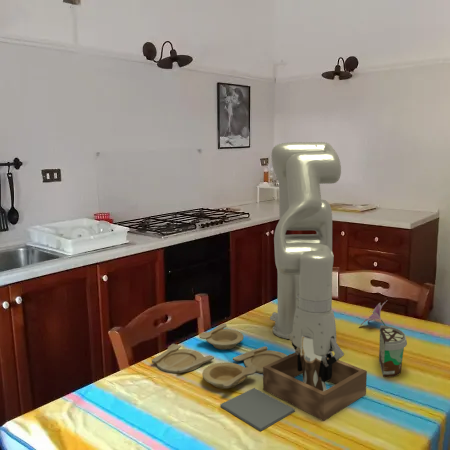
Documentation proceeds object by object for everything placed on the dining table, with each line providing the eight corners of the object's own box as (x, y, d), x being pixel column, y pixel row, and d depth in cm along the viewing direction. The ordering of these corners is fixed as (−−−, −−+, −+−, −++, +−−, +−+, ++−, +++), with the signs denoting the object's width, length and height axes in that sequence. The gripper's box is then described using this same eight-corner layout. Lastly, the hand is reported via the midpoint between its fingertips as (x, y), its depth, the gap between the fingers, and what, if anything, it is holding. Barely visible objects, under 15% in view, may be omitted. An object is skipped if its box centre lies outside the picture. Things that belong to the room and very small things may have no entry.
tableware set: (142, 363, 134) (142, 349, 133) (215, 332, 155) (215, 320, 155) (236, 408, 111) (235, 392, 110) (306, 364, 132) (306, 350, 131)
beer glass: (296, 385, 119) (296, 328, 117) (323, 384, 120) (324, 327, 118) (303, 400, 113) (303, 340, 110) (332, 398, 113) (333, 338, 111)
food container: (409, 381, 120) (411, 344, 119) (383, 379, 122) (385, 342, 120) (401, 360, 132) (403, 325, 131) (378, 358, 134) (379, 324, 132)
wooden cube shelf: (263, 389, 118) (263, 366, 117) (305, 368, 128) (306, 347, 127) (323, 421, 104) (324, 395, 103) (366, 394, 115) (366, 370, 114)
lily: (385, 322, 162) (371, 297, 163) (408, 320, 152) (393, 293, 152) (360, 340, 158) (346, 313, 158) (382, 339, 147) (367, 311, 148)
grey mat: (220, 406, 111) (220, 404, 110) (254, 390, 118) (254, 387, 118) (260, 431, 101) (260, 428, 101) (294, 411, 108) (294, 409, 108)
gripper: (277, 298, 116) (277, 367, 120) (336, 317, 104) (334, 393, 107) (297, 292, 121) (296, 358, 124) (356, 308, 108) (354, 382, 112)
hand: (314, 373), depth 116 cm, fingers closed on beer glass, 6 cm apart
